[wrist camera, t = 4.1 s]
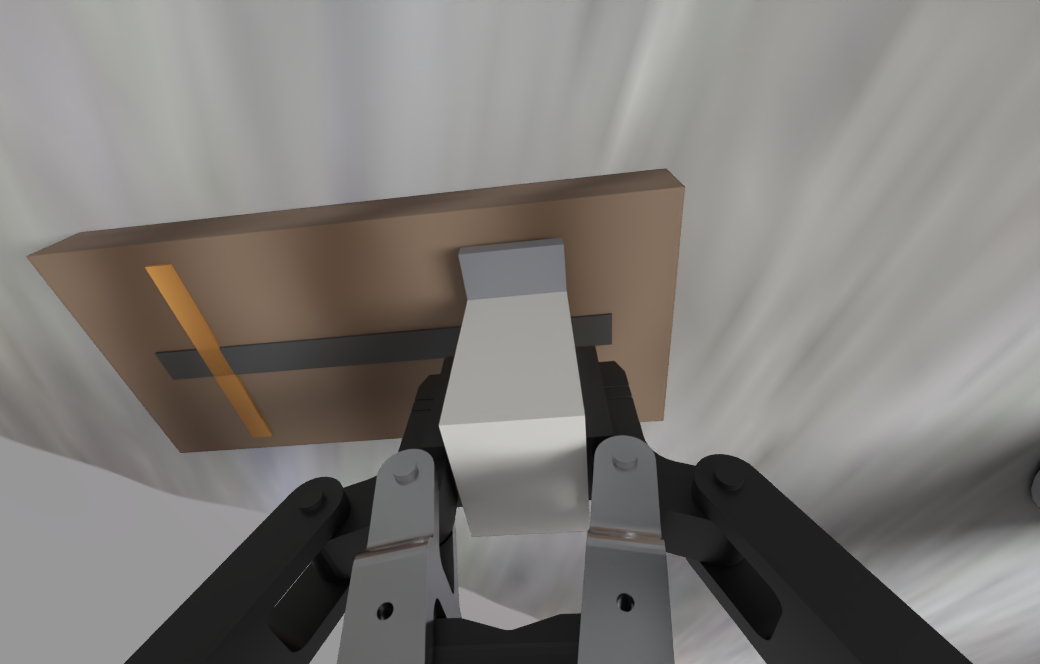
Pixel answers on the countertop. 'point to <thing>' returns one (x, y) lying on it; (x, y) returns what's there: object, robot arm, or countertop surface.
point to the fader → (517, 395)
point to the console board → (357, 303)
